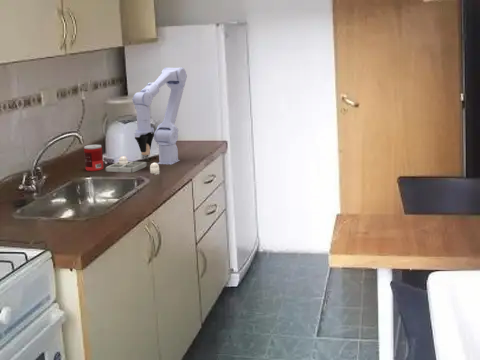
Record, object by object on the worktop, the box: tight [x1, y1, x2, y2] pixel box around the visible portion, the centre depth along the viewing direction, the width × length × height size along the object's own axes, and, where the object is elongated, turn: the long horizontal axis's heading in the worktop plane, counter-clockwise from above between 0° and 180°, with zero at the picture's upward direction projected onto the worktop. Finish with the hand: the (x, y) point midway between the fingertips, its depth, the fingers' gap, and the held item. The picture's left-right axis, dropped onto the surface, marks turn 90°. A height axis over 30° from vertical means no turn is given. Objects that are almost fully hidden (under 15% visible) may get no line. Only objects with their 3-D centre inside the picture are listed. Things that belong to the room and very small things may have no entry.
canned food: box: [83, 144, 104, 172], centre depth 299 cm, size 8×8×11 cm
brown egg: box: [140, 143, 151, 156], centre depth 295 cm, size 4×4×5 cm
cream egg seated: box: [118, 155, 129, 164], centre depth 302 cm, size 4×4×5 cm
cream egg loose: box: [149, 162, 160, 176], centre depth 289 cm, size 4×4×5 cm
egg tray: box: [105, 161, 148, 174], centre depth 298 cm, size 13×13×2 cm
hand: (145, 151), depth 296 cm, fingers closed on brown egg, 4 cm apart
